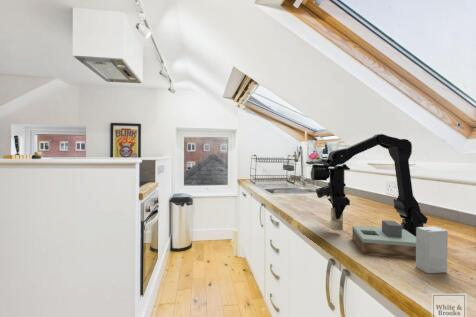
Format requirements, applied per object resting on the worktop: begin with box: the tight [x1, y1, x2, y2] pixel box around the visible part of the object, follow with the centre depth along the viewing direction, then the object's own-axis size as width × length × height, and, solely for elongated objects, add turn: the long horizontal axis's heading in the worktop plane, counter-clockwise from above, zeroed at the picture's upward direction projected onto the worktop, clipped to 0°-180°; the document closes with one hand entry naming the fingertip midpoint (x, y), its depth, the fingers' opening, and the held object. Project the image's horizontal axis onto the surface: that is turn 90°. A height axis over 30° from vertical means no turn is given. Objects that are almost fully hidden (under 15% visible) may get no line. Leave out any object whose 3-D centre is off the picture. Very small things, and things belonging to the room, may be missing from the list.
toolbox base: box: [351, 229, 416, 260], centre depth 81 cm, size 18×14×4 cm
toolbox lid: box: [351, 220, 416, 247], centre depth 81 cm, size 18×14×5 cm
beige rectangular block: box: [330, 207, 344, 231], centre depth 96 cm, size 4×4×8 cm
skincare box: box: [415, 226, 449, 274], centre depth 66 cm, size 6×4×12 cm
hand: (336, 217), depth 96 cm, fingers closed on beige rectangular block, 4 cm apart
